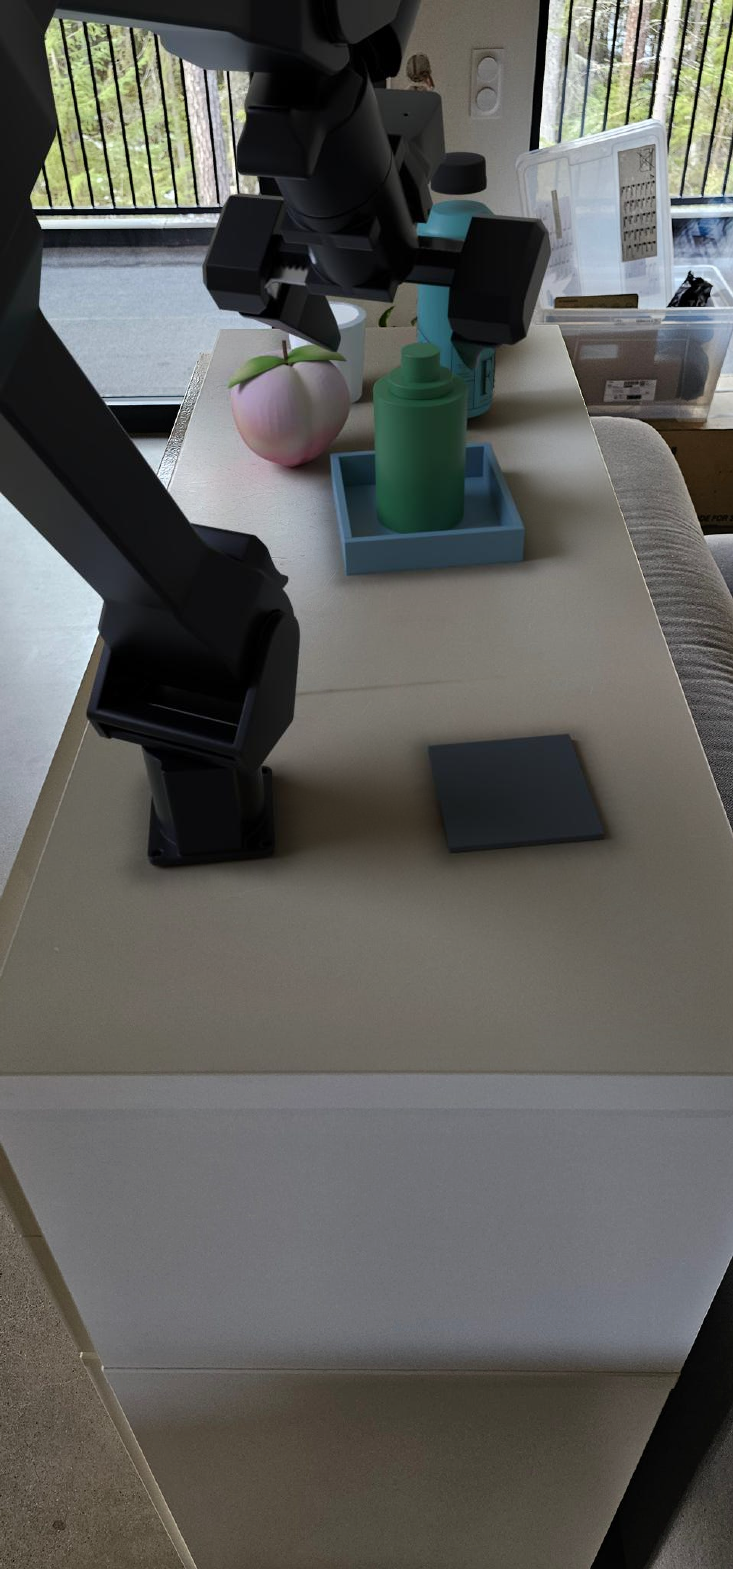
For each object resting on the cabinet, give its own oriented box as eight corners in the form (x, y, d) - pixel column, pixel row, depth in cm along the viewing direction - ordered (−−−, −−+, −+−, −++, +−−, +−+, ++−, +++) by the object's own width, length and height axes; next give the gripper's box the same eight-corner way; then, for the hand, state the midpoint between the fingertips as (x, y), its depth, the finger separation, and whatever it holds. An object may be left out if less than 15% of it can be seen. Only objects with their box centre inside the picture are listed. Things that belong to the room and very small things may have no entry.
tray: (522, 566, 76) (525, 528, 74) (346, 580, 75) (344, 542, 73) (488, 477, 85) (490, 441, 83) (332, 488, 85) (330, 453, 83)
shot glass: (283, 385, 99) (276, 306, 95) (355, 374, 101) (352, 295, 96) (302, 416, 94) (297, 334, 90) (378, 404, 96) (376, 322, 91)
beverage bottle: (488, 440, 90) (501, 168, 77) (408, 435, 91) (407, 166, 78) (497, 406, 95) (511, 145, 81) (421, 402, 96) (422, 143, 82)
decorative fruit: (315, 431, 92) (307, 309, 85) (369, 467, 87) (365, 340, 80) (216, 462, 89) (199, 337, 82) (265, 502, 83) (252, 372, 77)
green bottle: (470, 532, 79) (476, 365, 70) (381, 539, 78) (377, 372, 70) (456, 489, 83) (460, 328, 75) (372, 496, 83) (367, 335, 75)
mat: (604, 838, 56) (605, 833, 56) (449, 853, 56) (449, 847, 56) (568, 738, 62) (569, 733, 62) (428, 750, 62) (428, 745, 61)
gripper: (566, 31, 52) (586, 253, 66) (215, 19, 57) (306, 227, 72) (502, 240, 50) (537, 419, 65) (148, 207, 56) (255, 379, 70)
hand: (404, 354), depth 68 cm, fingers open, 9 cm apart
